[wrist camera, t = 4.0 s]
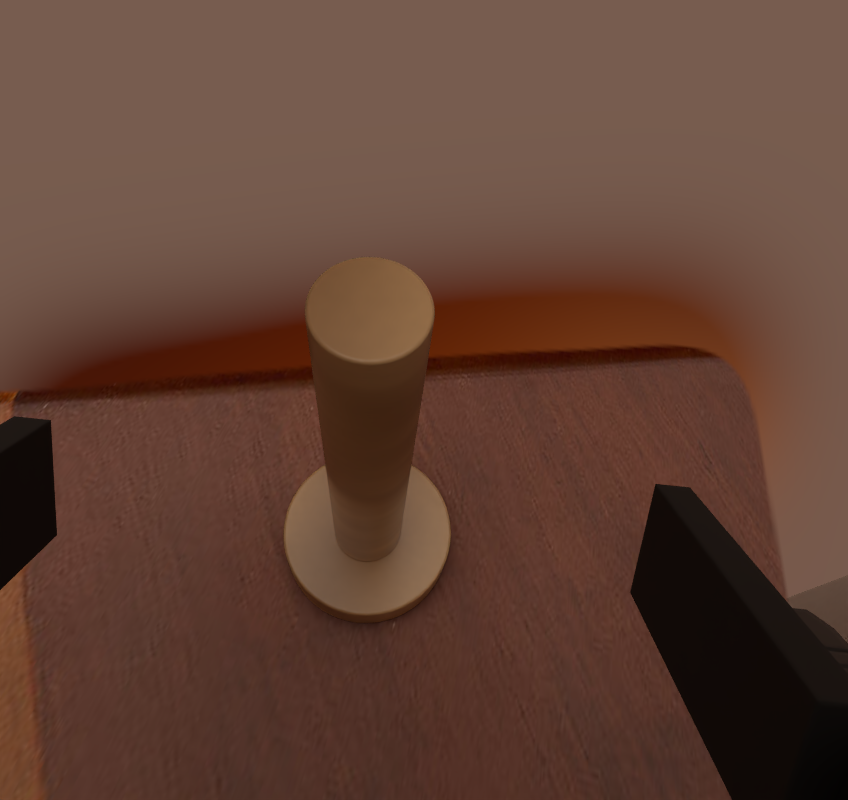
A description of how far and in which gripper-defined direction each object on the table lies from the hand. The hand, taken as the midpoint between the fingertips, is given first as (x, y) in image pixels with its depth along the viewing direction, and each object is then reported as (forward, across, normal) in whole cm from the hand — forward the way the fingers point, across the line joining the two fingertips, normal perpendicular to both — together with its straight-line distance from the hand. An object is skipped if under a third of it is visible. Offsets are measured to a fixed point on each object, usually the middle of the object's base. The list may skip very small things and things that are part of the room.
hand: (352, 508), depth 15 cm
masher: (+8, 0, -5) cm, 10 cm away
